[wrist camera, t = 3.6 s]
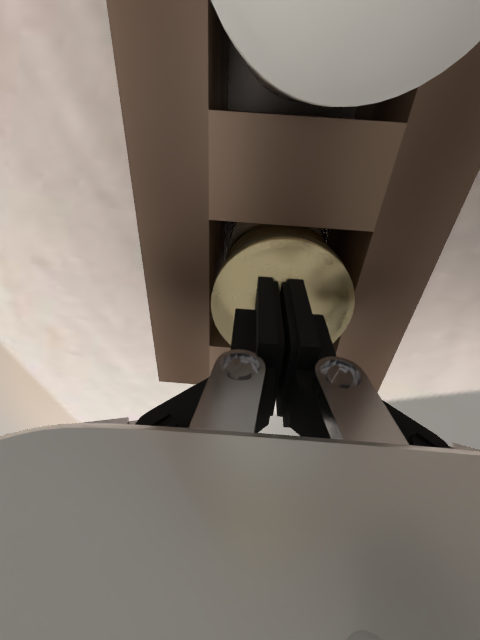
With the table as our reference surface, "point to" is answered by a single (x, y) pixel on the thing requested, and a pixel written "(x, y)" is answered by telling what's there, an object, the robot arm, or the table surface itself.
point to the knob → (282, 273)
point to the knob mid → (349, 45)
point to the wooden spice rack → (282, 182)
